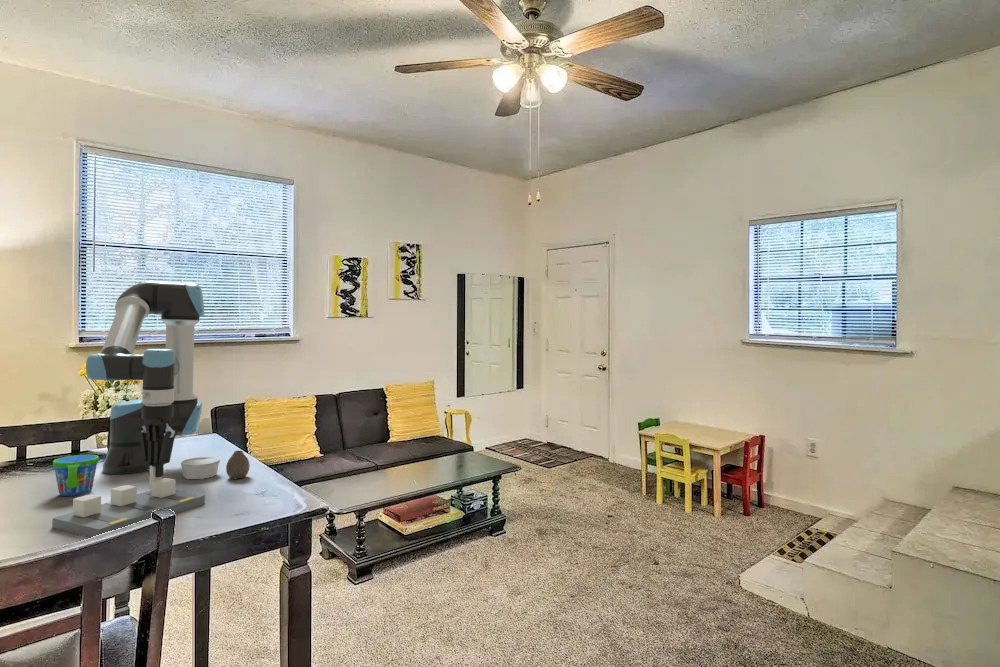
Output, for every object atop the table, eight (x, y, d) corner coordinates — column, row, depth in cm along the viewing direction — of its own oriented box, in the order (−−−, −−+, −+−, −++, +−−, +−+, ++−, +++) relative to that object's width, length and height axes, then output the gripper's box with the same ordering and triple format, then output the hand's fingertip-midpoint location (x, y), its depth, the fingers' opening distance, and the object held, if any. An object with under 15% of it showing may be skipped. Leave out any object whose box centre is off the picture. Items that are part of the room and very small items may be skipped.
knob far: (151, 495, 147) (151, 481, 147) (165, 491, 150) (165, 477, 150) (161, 497, 145) (162, 483, 145) (175, 493, 149) (175, 479, 149)
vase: (231, 474, 178) (231, 448, 178) (252, 474, 179) (253, 448, 179) (222, 480, 171) (222, 453, 171) (244, 480, 172) (245, 453, 172)
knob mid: (110, 504, 139) (111, 488, 139) (126, 499, 143) (126, 484, 143) (121, 506, 138) (121, 490, 138) (136, 501, 141) (136, 486, 141)
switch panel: (52, 527, 129) (52, 517, 129) (161, 495, 155) (162, 486, 155) (98, 539, 123) (99, 528, 123) (204, 503, 149) (204, 494, 149)
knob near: (72, 514, 131) (73, 498, 131) (90, 509, 134) (90, 494, 134) (83, 517, 129) (83, 501, 129) (100, 512, 133) (101, 496, 133)
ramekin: (213, 470, 183) (213, 454, 183) (224, 477, 175) (224, 461, 175) (176, 475, 176) (177, 459, 175) (185, 483, 168) (186, 466, 168)
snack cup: (61, 487, 160) (61, 453, 160) (103, 483, 164) (104, 451, 164) (43, 503, 146) (44, 466, 146) (91, 499, 150) (91, 463, 150)
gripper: (128, 403, 147) (126, 488, 147) (161, 407, 143) (159, 495, 143) (154, 400, 154) (152, 481, 154) (186, 404, 150) (184, 487, 150)
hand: (155, 488), depth 148 cm, fingers closed
